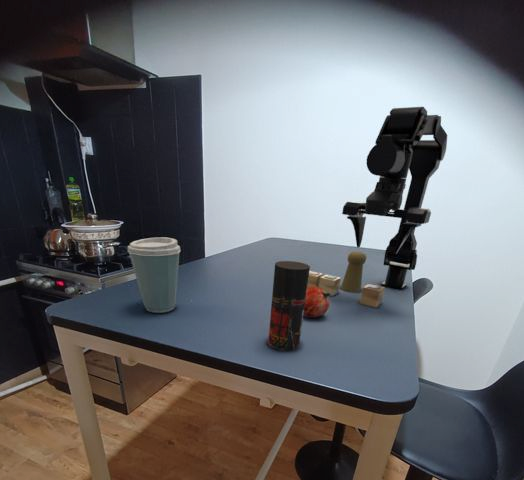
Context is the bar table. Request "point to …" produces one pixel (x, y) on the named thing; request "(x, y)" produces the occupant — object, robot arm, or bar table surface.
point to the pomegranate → (316, 302)
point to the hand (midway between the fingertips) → (376, 250)
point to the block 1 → (314, 279)
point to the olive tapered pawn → (354, 272)
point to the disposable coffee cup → (156, 271)
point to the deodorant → (288, 304)
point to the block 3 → (372, 295)
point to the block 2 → (329, 284)
